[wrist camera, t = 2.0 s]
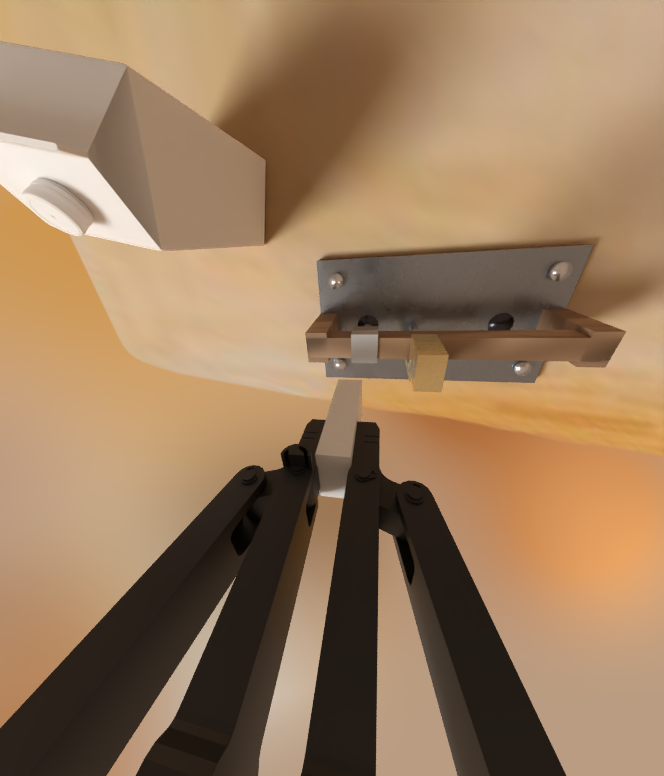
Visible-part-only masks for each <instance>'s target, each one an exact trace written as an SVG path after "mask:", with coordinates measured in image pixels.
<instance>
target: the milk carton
mask: <svg viewBox="0 0 664 776" xmlns="http://www.w3.org/2000/svg"><path fill="white" fill-rule="evenodd" d="M265 173H266V160H265V159H263V158H262V157H261V156H259V155H258V154H256V153H255V152H253V151H252V150H250V149H249V148H247V147H246V146H244V145H243V144H241V143H240V142H239V141H237V140H236V139H234V138H233V137H231V136H230V135H228V134H227V133H225V132H224V131H222V130H221V129H219V128H218V127H217V126H215V125H214V124H212V123H211V122H209V121H208V120H206V119H205V118H203V117H202V116H200V115H199V114H197V113H196V112H195V111H193V110H192V109H190V108H189V107H187V106H186V105H184V104H183V103H181V102H180V101H178V100H177V99H175V98H174V97H173V96H171V95H170V94H168V93H167V92H165V91H164V90H162V89H161V88H159V87H158V86H156V85H155V84H153V83H152V82H151V81H149V80H148V79H146V78H145V77H143V76H142V75H140V74H139V73H137V72H136V71H134V70H133V69H131V68H130V67H129V66H127V65H125V64H122V63H118V62H113V61H107V60H102V59H96V58H91V57H85V56H80V55H74V54H68V53H63V52H57V51H52V50H46V49H41V48H35V47H29V46H24V45H18V44H13V43H7V42H2V41H0V184H1V185H2V186H3V187H5V188H6V189H7V190H8V191H9V192H10V193H12V194H13V195H14V196H15V197H16V198H18V199H19V200H20V201H21V202H22V203H23V204H25V205H26V206H27V207H28V208H29V209H31V210H32V211H33V212H34V213H35V214H37V215H38V216H39V217H40V218H41V219H43V220H44V221H45V222H46V223H48V224H49V225H51V226H53V227H56V228H58V229H60V230H62V231H64V232H66V233H69V234H72V235H75V236H82V235H84V234H85V235H89V236H94V237H98V238H103V239H107V240H112V241H116V242H121V243H125V244H130V245H134V246H139V247H144V248H148V249H153V250H159V251H175V250H193V249H210V248H228V247H245V246H263V245H264V235H265Z"/></svg>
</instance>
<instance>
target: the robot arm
mask: <svg viewBox="0 0 664 776" xmlns="http://www.w3.org/2000/svg"><path fill="white" fill-rule="evenodd" d="M361 416H362V380H338V383H337V386H336V389H335V393H334V396H333V399H332V402H331V405H330V409H329V412H328V415H327V418H326V420H316V419H312V420H311V421H310V422H309V423H308V424H307V426H306V428H305V430H304V433H303V435H302V438H301V440H300V442H299V444H293V445H291V446H288V447H287V448H285V449H284V450H283V451H282V452H281V457H282V461H283V466H284V467H283V468H281V469H278V470H273V471H267V472H264V470H263V468H261V467H260V466H255V465H253V466H248V467H245V468H243V469H242V470H240V471H239V472H238V473H237V474H236V475H235V476H234V477H233V478H232V479H231V481H230V482H229V483H228V484H227V485H226V486H225V487H224V488H223V489H222V490H221V491H220V492H219V493H218V494H217V496H216V497H215V498H214V499H213V500H212V501H211V502H210V503H209V504H208V505H207V506H206V508H204V510H203V511H202V512H201V513H200V514H199V515H198V516H197V517H196V518H195V519H194V520H193V521H192V522H191V524H190V525H189V526H188V527H187V528H186V529H185V530H184V531H183V532H182V533H181V534H180V535H179V536H178V538H177V539H176V540H175V541H174V542H173V543H172V544H171V545H170V546H169V547H168V548H167V549H166V550H165V552H164V553H163V554H162V555H161V556H160V557H159V558H158V559H157V560H156V561H155V562H154V563H153V564H152V566H151V567H150V568H149V569H148V570H147V571H146V572H145V573H144V574H143V575H142V577H140V578H139V580H138V581H137V582H136V583H135V584H134V585H133V586H132V587H131V588H130V589H129V590H128V591H127V593H126V594H125V595H124V596H123V597H122V598H121V599H120V600H119V601H118V602H117V603H116V604H115V605H114V606H113V608H112V609H111V610H110V611H109V612H108V613H107V614H106V615H105V616H104V617H103V618H102V619H101V620H100V622H99V623H98V624H97V625H96V626H95V627H94V628H93V629H92V630H91V631H90V632H89V634H88V635H87V636H86V637H85V638H84V639H83V640H82V641H81V642H80V643H79V644H78V645H77V646H76V647H75V648H74V650H73V651H72V652H71V653H70V654H69V655H68V656H67V657H66V658H65V659H64V660H63V662H61V664H60V665H59V666H58V667H57V668H56V669H55V670H54V671H53V672H52V673H51V674H50V675H49V676H48V678H47V679H46V680H45V681H44V682H43V683H42V684H41V685H40V686H39V687H38V688H37V689H36V691H35V692H34V693H33V694H32V695H31V696H30V697H29V698H28V699H27V700H26V701H25V702H24V703H23V704H22V706H21V707H20V708H19V709H18V710H17V711H16V712H15V713H14V714H13V715H12V716H11V718H10V719H9V720H8V721H7V722H6V723H5V724H4V725H3V726H2V727H1V728H0V776H106V775H107V774H108V772H109V771H110V769H111V768H112V766H113V765H114V763H115V762H116V760H117V758H118V757H119V755H120V754H121V752H122V751H123V749H124V748H125V746H126V744H127V743H128V742H129V740H130V738H131V737H132V735H133V734H134V732H135V731H136V729H137V728H138V726H139V725H140V723H141V722H142V720H143V718H144V717H145V715H146V714H147V712H148V711H149V709H150V708H151V706H152V705H153V703H154V701H155V700H156V698H157V697H158V695H159V694H160V692H161V691H162V689H163V688H164V686H165V685H166V683H167V682H168V680H169V678H170V677H171V675H172V674H173V672H174V671H175V669H176V668H177V666H178V665H179V663H180V662H181V660H182V658H183V657H184V655H185V654H186V652H187V651H188V649H189V648H190V646H191V644H192V643H193V642H194V640H195V638H196V637H197V635H198V634H199V632H200V631H201V629H202V628H203V626H204V625H205V623H206V622H207V619H208V618H209V617H210V615H211V614H212V612H213V611H214V609H215V608H216V606H217V605H218V603H219V601H220V600H221V598H222V597H223V595H224V594H225V592H226V591H227V589H228V588H229V586H230V584H231V583H232V581H233V580H234V578H235V577H236V579H235V581H234V583H233V585H232V588H231V590H230V592H229V595H228V597H227V599H226V602H225V604H224V606H223V609H222V611H221V613H220V615H219V618H218V620H217V622H216V625H215V627H214V629H213V632H212V634H211V636H210V638H209V641H208V643H207V646H206V648H205V650H204V652H203V655H202V657H201V659H200V662H199V664H198V666H197V669H196V671H195V673H194V675H193V678H192V680H191V682H190V685H189V687H188V689H187V692H186V694H185V696H184V699H183V701H182V703H181V705H180V708H179V710H178V712H177V714H176V716H175V718H174V720H173V721H172V723H171V724H170V726H169V727H168V728H167V730H166V731H165V732H164V733H163V734H162V735H161V736H160V737H159V738H158V739H157V741H156V742H155V743H154V745H153V746H152V748H151V749H150V751H149V752H148V754H147V756H146V757H145V759H144V761H143V763H142V765H141V766H140V768H139V771H138V772H137V774H136V776H258V768H259V756H260V749H261V745H262V739H263V736H264V731H265V727H266V723H267V719H268V715H269V711H270V706H271V702H272V698H273V694H274V689H275V685H276V681H277V677H278V672H279V669H280V664H281V660H282V656H283V651H284V648H285V643H286V639H287V635H288V631H289V627H290V622H291V618H292V614H293V610H294V606H295V601H296V597H297V593H298V589H299V584H300V580H301V576H302V572H303V568H304V564H305V559H306V555H307V551H308V547H309V542H310V538H311V534H312V530H313V525H314V521H315V517H316V513H317V509H318V494H319V490H320V495H321V496H329V497H337V498H344V501H343V508H342V514H341V521H340V527H339V534H338V541H337V548H336V554H335V561H334V567H333V575H332V581H331V587H330V594H329V601H328V607H327V614H326V621H325V627H324V634H323V640H322V647H321V654H320V660H319V667H318V673H317V680H316V687H315V693H314V700H313V707H312V713H311V720H310V727H309V733H308V740H307V746H306V753H305V759H304V764H303V769H302V773H301V776H376V709H377V705H376V704H377V630H378V629H377V628H378V551H379V550H378V549H379V529H381V530H383V531H385V532H387V533H389V534H391V535H393V539H394V542H395V546H396V550H397V553H398V557H399V561H400V565H401V568H402V572H403V575H404V579H405V583H406V586H407V590H408V594H409V598H410V601H411V605H412V609H413V612H414V616H415V620H416V624H417V627H418V631H419V635H420V638H421V642H422V646H423V649H424V653H425V657H426V661H427V664H428V668H429V672H430V675H431V679H432V683H433V686H434V690H435V694H436V697H437V701H438V705H439V708H440V712H441V716H442V720H443V723H444V727H445V730H446V734H447V738H448V742H449V745H450V749H451V752H452V756H453V760H454V764H455V768H456V771H457V775H458V776H566V774H565V772H564V770H563V768H562V766H561V764H560V762H559V759H558V757H557V755H556V753H555V751H554V749H553V747H552V745H551V743H550V741H549V739H548V736H547V734H546V732H545V731H544V728H543V726H542V724H541V722H540V720H539V718H538V715H537V713H536V711H535V709H534V707H533V705H532V703H531V701H530V699H529V697H528V694H527V692H526V690H525V688H524V686H523V684H522V682H521V680H520V678H519V676H518V673H517V671H516V669H515V667H514V665H513V663H512V661H511V659H510V657H509V655H508V652H507V650H506V648H505V646H504V644H503V642H502V640H501V638H500V636H499V634H498V631H497V630H496V627H495V625H494V623H493V621H492V619H491V617H490V615H489V613H488V610H487V608H486V606H485V604H484V602H483V600H482V598H481V596H480V594H479V592H478V590H477V587H476V585H475V583H474V581H473V579H472V577H471V575H470V573H469V571H468V569H467V566H466V564H465V562H464V560H463V558H462V556H461V554H460V552H459V550H458V548H457V545H456V543H455V541H454V539H453V537H452V535H451V533H450V531H449V529H448V527H447V524H446V522H445V520H444V518H443V516H442V514H441V512H440V510H439V508H438V506H437V503H436V501H435V499H434V497H433V495H432V493H431V492H430V490H429V489H428V488H427V487H426V486H424V485H423V484H421V483H419V482H416V481H406V482H403V483H401V484H398V483H395V482H393V481H391V480H389V479H387V478H386V477H385V476H384V475H383V474H382V473H381V471H380V468H379V434H380V433H379V432H380V431H379V427H378V426H377V424H376V423H373V422H361ZM236 575H237V576H236Z"/></svg>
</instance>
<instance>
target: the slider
mask: <svg viewBox="0 0 664 776" xmlns="http://www.w3.org/2000/svg"><path fill="white" fill-rule="evenodd" d="M409 328H410V331H419V330H418V327H417V325H416V324H415V323H412V324H410V326H409ZM448 357H449V355H448V353H447V351H446V350H445V348H444V346H443V344H442V343H441V341H440V339H439V337H438V336H437V334H412V335H411V344H410V353H409V359H405V363H406V369H407V374H408V379H409V381H411V382H412V387H413V391H420V392H441V391H442V386H443V381H444V376H445V372H446V367H447V362H448Z"/></svg>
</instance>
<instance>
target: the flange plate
mask: <svg viewBox="0 0 664 776" xmlns="http://www.w3.org/2000/svg"><path fill="white" fill-rule="evenodd" d="M592 248H593V245H588V244H585V245H568V246H551V247H534V248H518V249H501V250H484V251H467V252H451V253H434V254H417V255H400V256H383V257H367V258H350V259H333V260H318V261H317V271H318V283H319V295H320V307H321V314H325V313H338V328H339V331H352V330H353V327H354V326H365V324H370V325H371V326H378V331H410V328H409V326H410V324H412V323H415V324H416V325H417V327H418V330H419V331H460V330H536V327H537V325H538V322H539V319H540V317H541V314H542V311H543V309H566V308H567V306H568V304H569V301H570V299H571V297H572V294H573V292H574V290H575V287H576V285H577V283H578V280H579V278H580V276H581V273H582V271H583V269H584V266H585V264H586V262H587V259H588V257H589V255H590V252H591V250H592ZM543 362H544V361H513V360H448V362H447V367H446V372H445V376H444V380H452V381H487V382H522V383H535V380H536V378H537V376H538V374H539V371H540V369H541V367H542V364H543ZM325 366H326V377H349V378H383V379H408V374H407V369H406V363H405V359H377V363H352V358H330V360H329V362H325Z"/></svg>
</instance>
